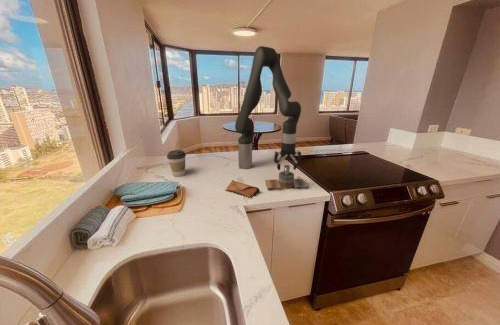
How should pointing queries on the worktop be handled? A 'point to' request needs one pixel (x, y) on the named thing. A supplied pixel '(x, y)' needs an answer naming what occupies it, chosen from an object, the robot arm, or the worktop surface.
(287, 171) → the hinge pin
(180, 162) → the coffee cup
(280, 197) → the worktop surface
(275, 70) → the robot arm
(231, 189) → the sunglasses case
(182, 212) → the worktop surface
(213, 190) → the worktop surface
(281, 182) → the hinge leaves
